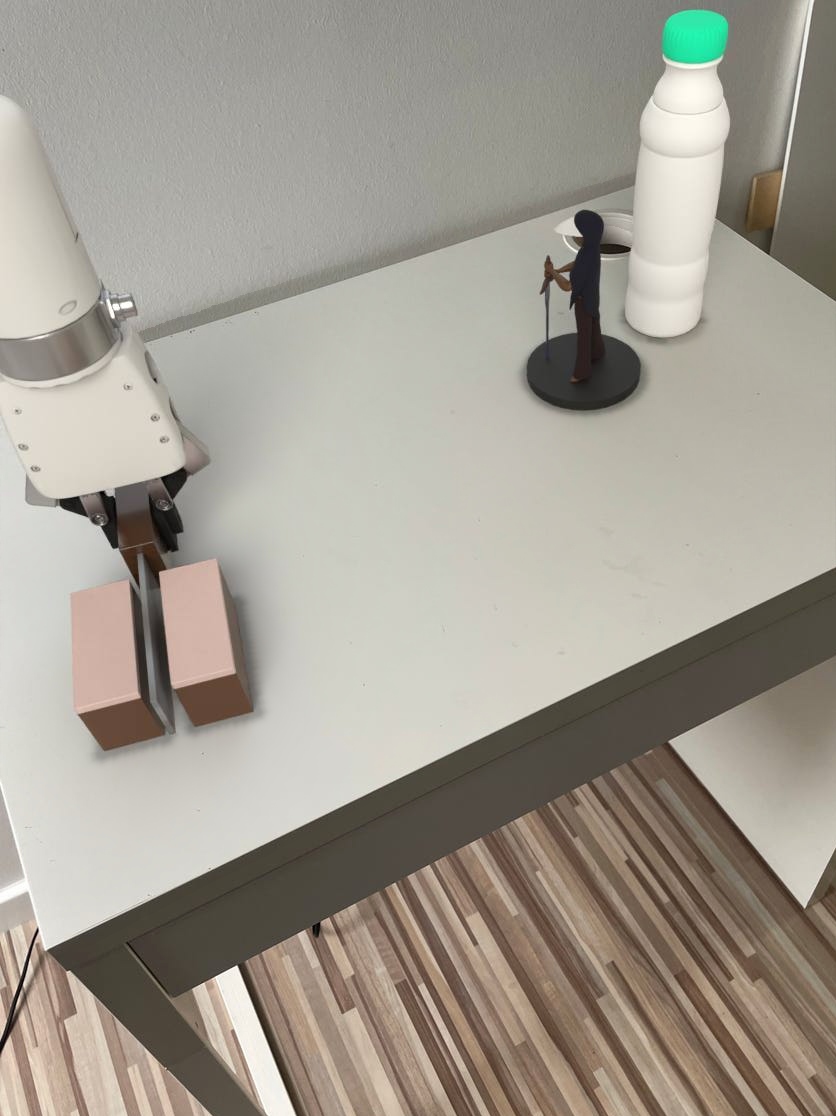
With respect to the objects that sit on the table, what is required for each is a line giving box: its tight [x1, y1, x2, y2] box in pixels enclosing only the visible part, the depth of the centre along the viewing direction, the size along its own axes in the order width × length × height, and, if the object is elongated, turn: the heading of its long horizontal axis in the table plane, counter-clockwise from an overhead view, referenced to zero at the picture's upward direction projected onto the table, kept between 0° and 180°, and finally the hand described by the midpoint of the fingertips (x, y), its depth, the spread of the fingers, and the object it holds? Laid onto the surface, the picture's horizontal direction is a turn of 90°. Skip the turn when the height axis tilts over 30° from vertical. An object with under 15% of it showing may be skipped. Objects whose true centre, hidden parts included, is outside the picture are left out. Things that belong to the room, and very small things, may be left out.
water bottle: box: [624, 9, 731, 339], centre depth 78 cm, size 7×7×25 cm
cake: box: [70, 557, 254, 752], centre depth 63 cm, size 10×10×5 cm
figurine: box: [526, 209, 642, 411], centre depth 77 cm, size 10×10×15 cm
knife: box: [113, 482, 177, 736], centre depth 64 cm, size 22×2×4 cm, turn 16°
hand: (151, 542), depth 70 cm, fingers closed on knife, 2 cm apart
